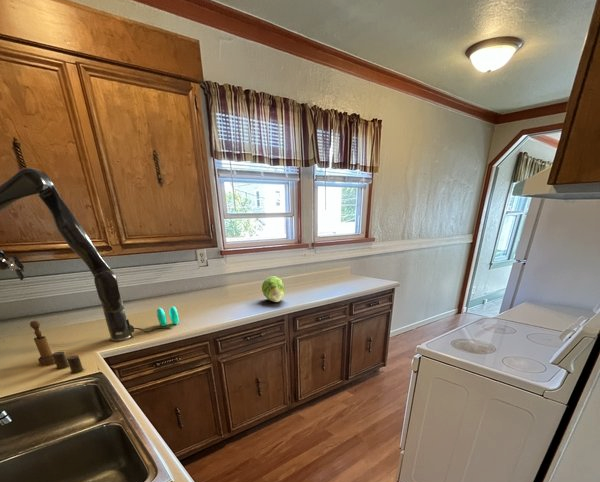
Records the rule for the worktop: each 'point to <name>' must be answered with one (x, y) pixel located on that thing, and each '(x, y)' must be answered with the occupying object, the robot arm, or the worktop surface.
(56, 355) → the middle peg
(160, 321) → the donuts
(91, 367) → the worktop surface
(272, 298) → the lettuce
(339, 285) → the worktop surface
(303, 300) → the worktop surface
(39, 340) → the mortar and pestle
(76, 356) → the far peg
